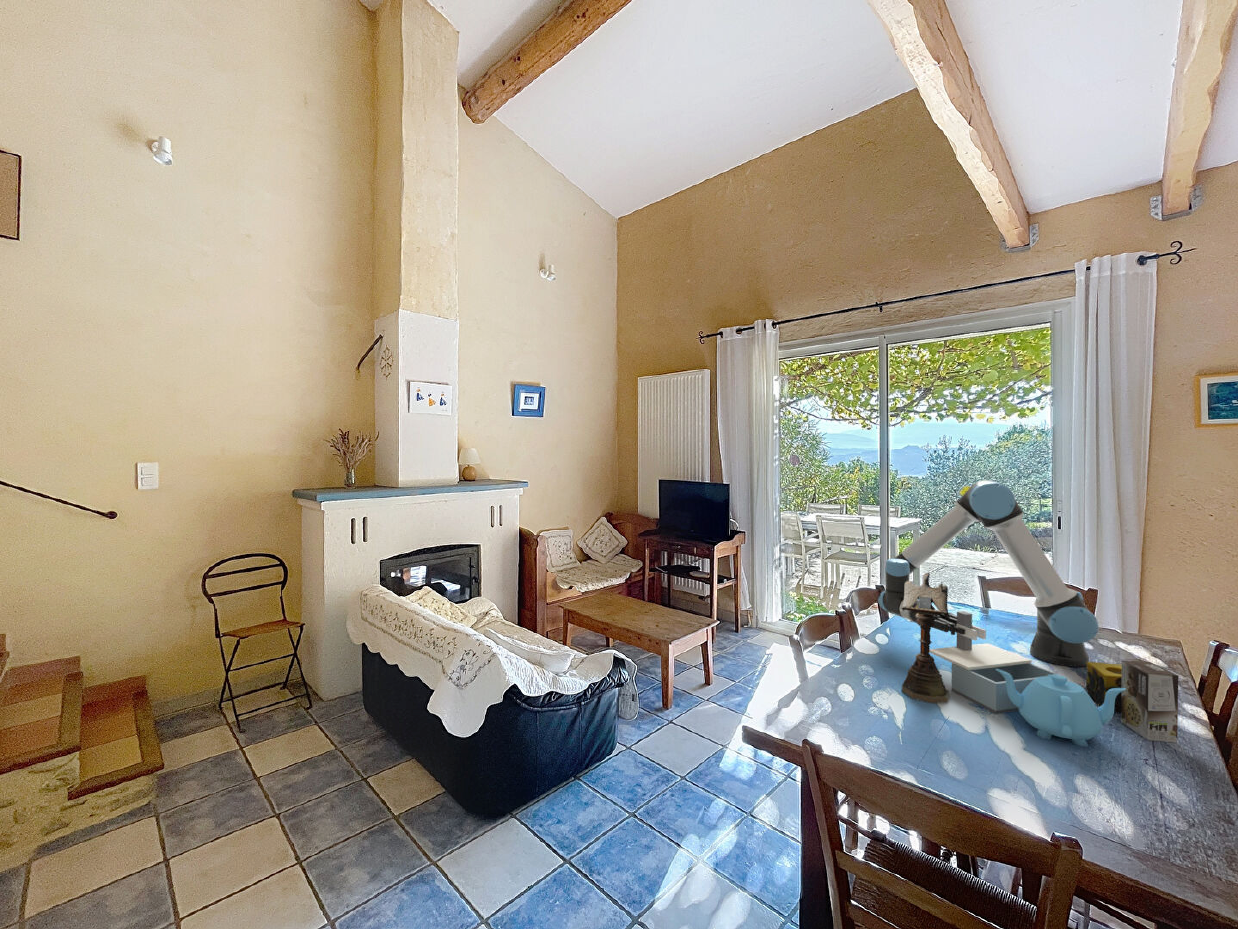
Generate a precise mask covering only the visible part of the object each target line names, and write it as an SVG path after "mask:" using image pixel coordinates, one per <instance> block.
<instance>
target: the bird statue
mask: <svg viewBox="0 0 1238 929" xmlns="http://www.w3.org/2000/svg"><path fill="white" fill-rule="evenodd" d="M930 574H931V573H930V572H925V573H924V574H923V577H922V578H923V580H922V584H921V585H916V584H914V582H913V581H911V580H909V581H906V582H905V585H904V601H903V605H902V608H901V611H900V613H901V612H902V611H904V610H911V611H912V613H917V614H916V615H915V616H916V618H917V622H916V625H918V626H919V628H920V638H919V639H918V640H919V642H920V643H919V644H920V646H919V648H920V649H919V650H920V652H919V653H917V654H916V655H915V661H914V662H913V665H910V668H908V671H907V673H908V674H907V675H906V678H905V679H904V680H903V683H902V684H901V692H902V693H904V694H905V693H907V694H908V695H907V694H906V695H907V696H908V697H910V698H911V699H912V700H913V699H914V700H917V699H919V700H918V701H921V700H922V702H925V701H926V703H930V704H938V703H939V704H941V703H947V702H948V699H949V697H950V690H949V689H947V688H946V685H945V683H944V681H943V674H941V672H940V670H939V669H938V667H937V665H936V662H935V658H934V657H933V656H932V655H931V653H930V652H929V651H930V650H929V649H931V646H930V645H931V644H932V641H931V631H932V630H931V629H932V627H934V625H935V623H934V620H935V619H936V618H935V616H938V614H944V615H945V616H946V617H947V618H948V619H949V620H950V616H949V613H950V612H949V609H948V597H949V596H948V594H949V593H948V591H949V588H948V586H947V585H946V584H943V581H940V584H938V586H937V587H933V586H931V585H930V577H931V576H930ZM954 584H956V583H954ZM917 600H919V603H918V604H917V606H916V607H915V608H913V607H911V606H912V605H913V604H914V603H915V602H916V601H917ZM933 604H934V605H933ZM934 606H935V607H936V608H937V609H936V608H935V607H934ZM933 607H934V608H935V609H934V608H933ZM937 613H938V614H937ZM934 615H935V616H934Z"/></svg>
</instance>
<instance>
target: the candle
mask: <svg viewBox="0 0 1238 929" xmlns="http://www.w3.org/2000/svg"><path fill="white" fill-rule="evenodd" d="M1085 686H1086V687H1085V688H1086V689H1085V690H1086V692H1087V693H1088V695H1089V696H1090V698H1091V699H1092V701H1093V702H1094V704H1095V705H1096V706H1097V707H1099V706H1101V705H1103V703H1104V701H1105V695H1106V693H1107V691H1108V690H1110V689H1113V688H1122V664H1118V663H1105V662H1096V661H1095V662H1093V661H1089V662H1087V665H1086V685H1085ZM1121 696H1122V692H1120V693H1119V694H1118V695H1117V696H1116V698H1115V705H1114V713H1117V714H1118V713H1120V714H1121V711H1122V710H1121V706H1122V703H1121V702H1122V697H1121Z"/></svg>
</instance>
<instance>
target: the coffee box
mask: <svg viewBox="0 0 1238 929" xmlns="http://www.w3.org/2000/svg"><path fill="white" fill-rule="evenodd" d="M1121 665H1122V688H1126V690H1124V691H1122V696H1121V697H1122V702H1121V703H1122V706H1121V710H1122V711H1121V713H1120V714H1121V716H1120V718H1121V721H1120V722H1121V724H1123V725H1125V726H1126V727H1128V728H1130V729H1131V730H1132V731H1134V732H1135V733H1137V734H1138V735H1140V736H1141V737H1143V738H1144V739H1146V740H1147V741H1153V742H1155V741H1156V742H1164V743H1165V742H1167V743H1175V744H1177V743H1178V725H1179V724H1178V723H1179V720H1178V719H1179V716H1178V714H1179V675H1178V674H1176V673H1173V672H1172V671H1170V670H1168V669H1166V668H1164V667H1161V666H1159V665H1157V664H1155V663H1153V662H1151V661H1146V660H1145V661H1142V660H1121Z"/></svg>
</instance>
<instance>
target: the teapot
mask: <svg viewBox="0 0 1238 929" xmlns="http://www.w3.org/2000/svg"><path fill="white" fill-rule="evenodd" d="M996 670H997V671H998V672H999V673H1001V674H1002V675H1003V677H1004V678H1005V681H1006V686H1007V693H1008V696H1009V699H1010V700H1011V702H1012V703H1013V704H1014V705H1015V706H1017V707H1018V709H1019V711H1018V712H1019V713H1020V715H1021V716H1022V718H1024V719H1025V720H1024V721H1026V722H1027V724H1029V725H1030V726H1032V727H1033V728H1035V729H1038V730H1037V732H1036V733H1035V734H1036V735H1037V736H1038V737H1039V738H1042V739H1048V740H1049V739H1051V738H1052V736H1055V737H1059V738H1064V739H1069V740H1071V741H1072V742H1073V744H1075V745H1077V746H1081V747H1088V746H1089V744H1088V743H1087V741H1086V740H1091V739H1092V738H1094V737H1096V736H1098V735H1099V734H1100V733H1101V732H1102V731H1103V725H1104V724H1106V723H1109V721H1111V720H1112V719H1113V717H1114V713H1115V712H1114V705H1115V698H1116V696H1117V695H1118V694H1119V693H1120V692H1122V691H1124V690H1126V688H1113V689H1110V690H1108V691H1107V693H1106V695H1105V701H1104V703H1103V705H1101V706H1097V704H1096V703H1095V702H1093V700H1092V699H1091V698H1090V696H1089V695H1088V693H1087V690H1086V689H1085V688H1084V687H1082V686H1081V685H1080V684H1077V683H1075V682H1074V681H1070V680H1068V677H1066V676H1064V675H1062V674H1059V673H1056V674H1052V675H1047V677H1037V678H1035V679H1034V680H1033V681H1032V682H1031V683H1030V684H1029V685H1028V686H1027V687H1026V688H1025V689H1024V691H1023V692H1022V694H1020V693H1019V692H1017V691H1016V689H1015V685H1014V680H1013V678H1012V676H1011V675H1010V674H1009V673H1007V672H1005V671H1002V670H999V669H996ZM1058 674H1059V675H1058Z"/></svg>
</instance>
